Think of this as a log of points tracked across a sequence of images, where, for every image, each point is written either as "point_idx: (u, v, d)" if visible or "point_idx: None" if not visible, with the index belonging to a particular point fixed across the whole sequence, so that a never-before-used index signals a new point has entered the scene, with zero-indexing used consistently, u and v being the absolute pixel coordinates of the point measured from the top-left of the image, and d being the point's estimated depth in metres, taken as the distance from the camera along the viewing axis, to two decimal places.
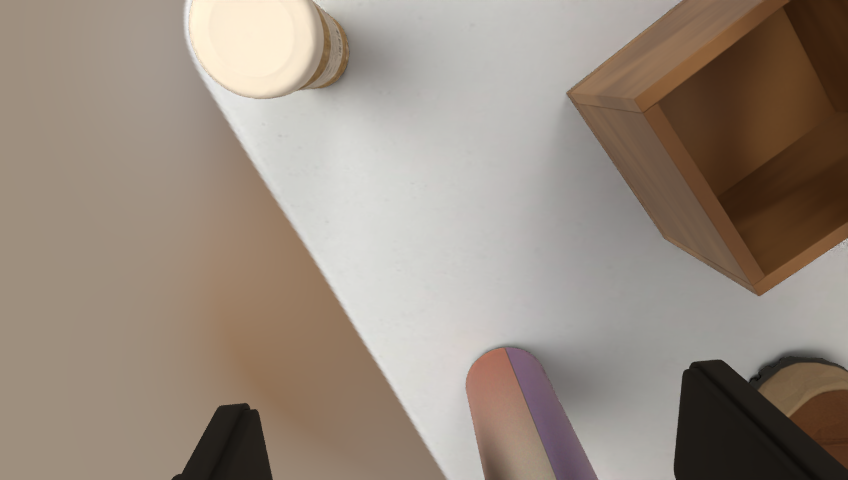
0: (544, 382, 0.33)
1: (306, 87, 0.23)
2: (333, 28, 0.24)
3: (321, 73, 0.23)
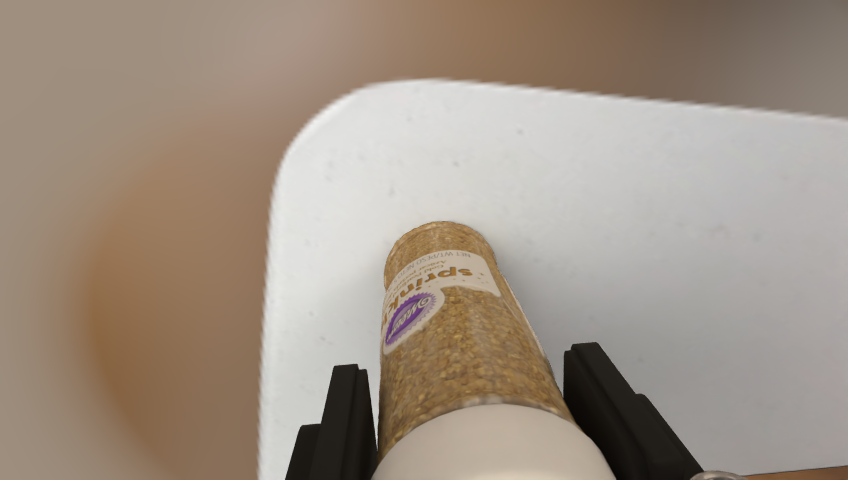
0: None
1: None
2: None
3: None
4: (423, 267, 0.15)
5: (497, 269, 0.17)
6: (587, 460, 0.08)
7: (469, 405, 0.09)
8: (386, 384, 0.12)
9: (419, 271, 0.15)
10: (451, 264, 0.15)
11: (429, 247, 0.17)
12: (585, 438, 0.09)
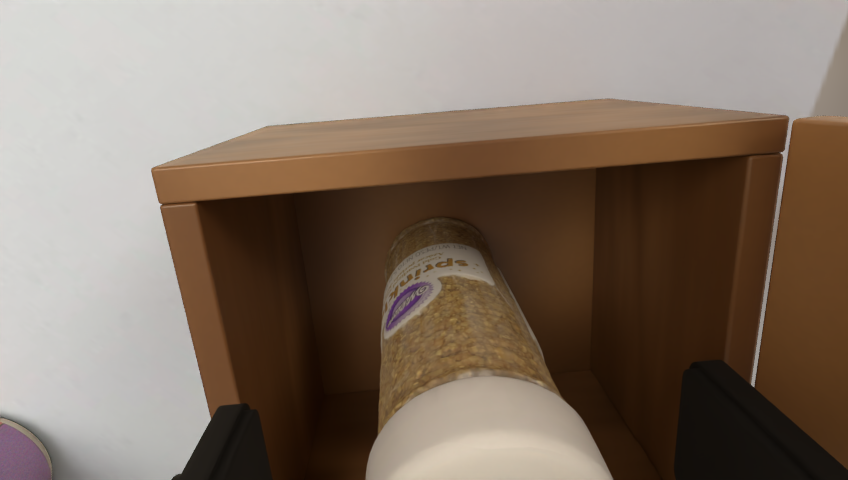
0: None
1: None
2: None
3: None
4: (422, 258, 0.16)
5: (492, 262, 0.18)
6: (568, 424, 0.09)
7: (462, 378, 0.10)
8: (387, 365, 0.12)
9: (418, 262, 0.16)
10: (448, 256, 0.16)
11: (427, 240, 0.18)
12: (568, 407, 0.09)
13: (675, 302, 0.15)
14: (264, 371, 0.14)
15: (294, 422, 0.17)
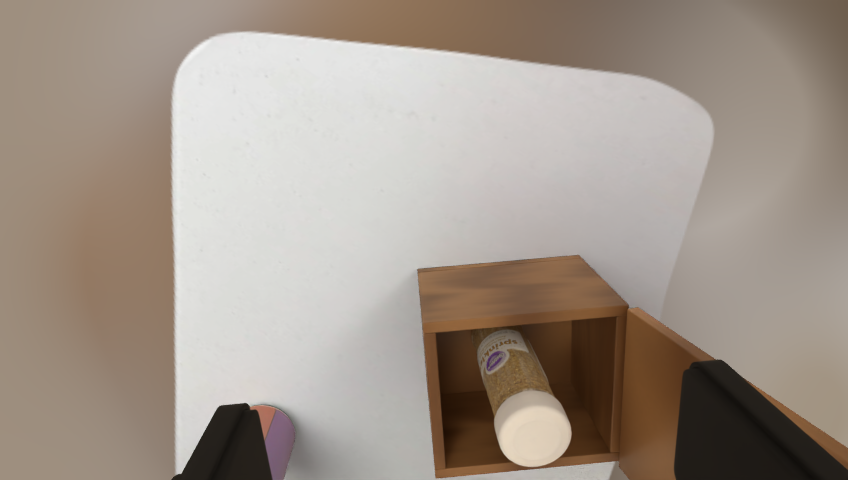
0: (283, 452, 0.42)
1: None
2: None
3: None
4: (496, 338, 0.39)
5: (524, 335, 0.41)
6: (555, 404, 0.31)
7: (524, 390, 0.32)
8: (492, 385, 0.35)
9: (495, 339, 0.39)
10: (508, 338, 0.38)
11: None
12: (555, 399, 0.32)
13: (600, 358, 0.37)
14: None
15: None
